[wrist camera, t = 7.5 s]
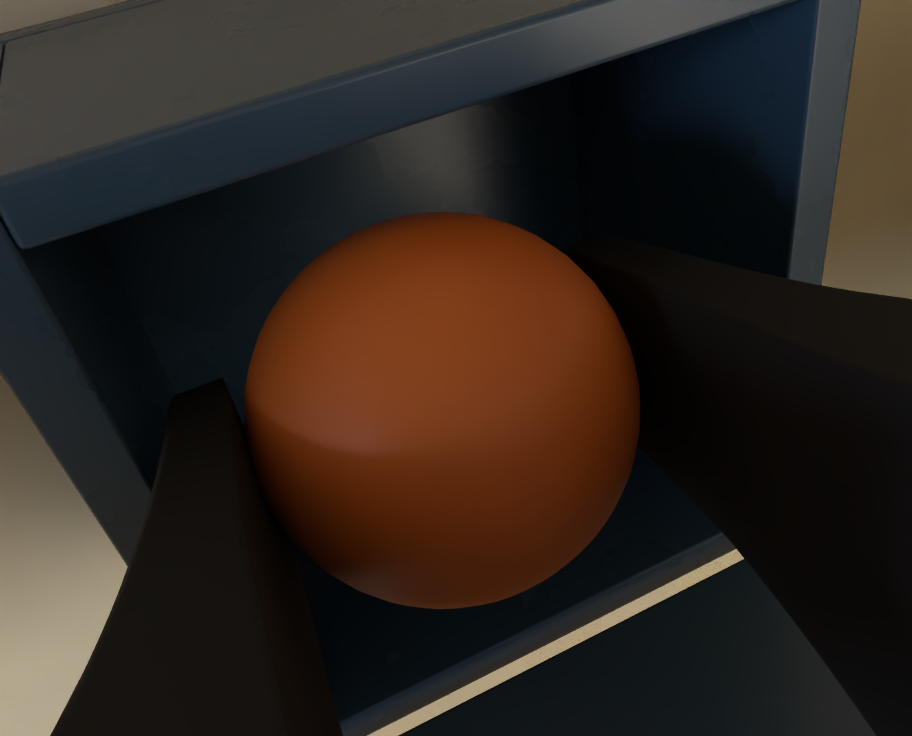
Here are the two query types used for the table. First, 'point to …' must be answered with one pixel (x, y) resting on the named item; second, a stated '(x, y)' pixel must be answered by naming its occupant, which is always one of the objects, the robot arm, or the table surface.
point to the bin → (376, 200)
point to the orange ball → (442, 410)
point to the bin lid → (674, 676)
